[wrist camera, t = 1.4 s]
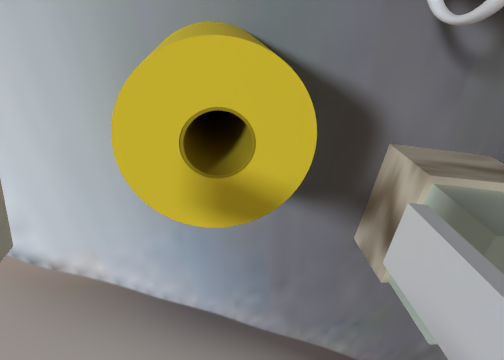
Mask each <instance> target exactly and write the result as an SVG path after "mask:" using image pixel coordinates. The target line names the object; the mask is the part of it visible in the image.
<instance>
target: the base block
mask: <svg viewBox="0 0 504 360" xmlns="http://www.w3.org/2000/svg"><path fill="white" fill-rule="evenodd" d="M432 184H442V185H450V186H459V187H468V188H477V189H485V190H494V191H503V192H504V163H502V162H500V161H498V160H497V159H495V158H493V157H491V156H485V155H477V154H468V153H460V152H452V151H444V150H436V149H428V148H420V147H412V146H404V145H395V144H389V147H388V150H387V152H386V155H385V158H384V160H383V163H382V166H381V168H380V171H379V173H378V176H377V179H376V181H375V184H374V187H373V189H372V192H371V195H370V197H369V200H368V203H367V205H366V208H365V211H364V213H363V216H362V219H361V221H360V224H359V227H358V229H357V232H356V235H355V237H354V239H355V241H356V243H357V244H358V246H359V248H360V249H361V251H362V252H363V254H364V256H365V257H366V259H367V261H368V262H369V264H370V265H371V267H372V269H373V270H374V272H375V274H376V275H377V277H378V279H379V280H380V282H382V283H389V281H388V280H387V278H388V276H389V274H390V273H389V272H388V270H387V269H386V267H385V266H384V264H383V261H384V258H385V256H386V254H387V251H388V249H389V246H390V244H391V242H392V239H393V237H394V235H395V232H396V230H397V228H398V225H399V223H400V221H401V218H402V216H403V213H404V211H405V209H406V206H407V204H408V203H413V204H423V202H424V200H425V198H426V196H427V194H428V192H429V190H430V188H431V186H432Z"/></svg>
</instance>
